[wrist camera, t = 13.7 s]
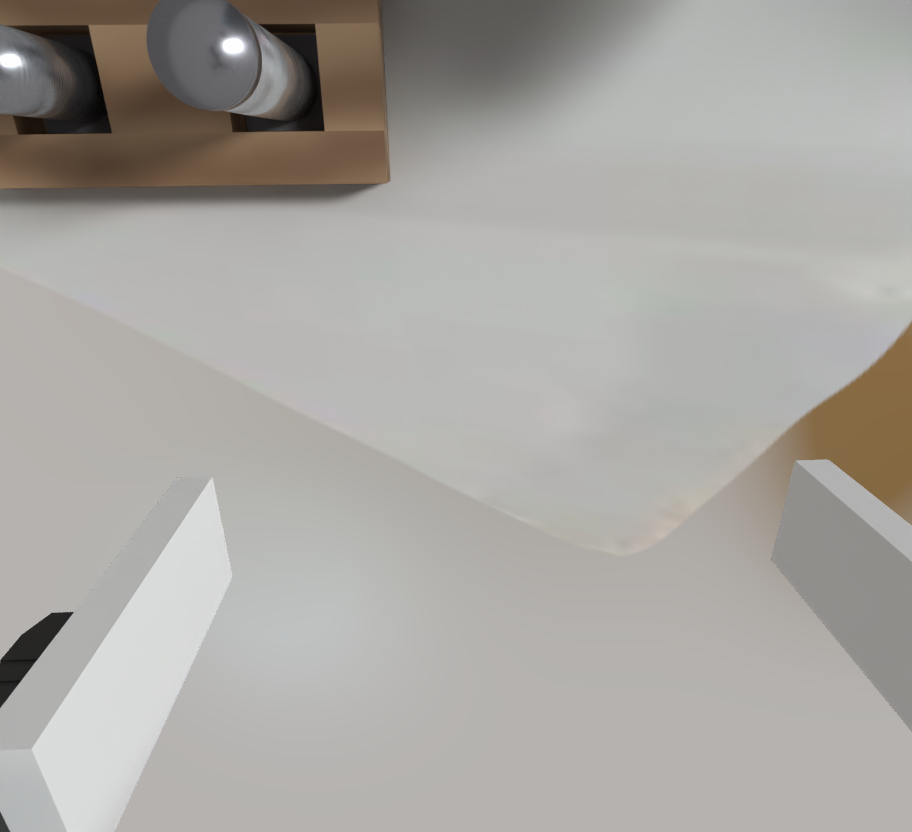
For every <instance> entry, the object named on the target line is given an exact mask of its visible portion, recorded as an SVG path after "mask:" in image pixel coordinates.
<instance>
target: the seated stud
mask: <svg viewBox="0 0 912 832" xmlns="http://www.w3.org/2000/svg"><path fill="white" fill-rule="evenodd" d="M106 113H107V108H106V103H105V99H104V94H103V90H102V85H101V81H100V76H99V71H98V67H97V62H96V58H95V57H94V56H93V55H91V54H90V53H88V52H86V51H84V50H82V49H79V48H75V47H72V46H69V45H66V44H63V43H60V42H56V41H53V40H50V39H47V38H44V37H40V36H37V35H34V34H31V33H28V32H25V31H21V30H18V29H15V28H12V27H9V26H5V25H2V24H0V114H6V115H16V116H25V117H35V118H44V119H53V120H63V121H72V122H82V123H90V122H95V121H97V120H99V119H101V118H102V117H104V116H105V115H106Z"/></svg>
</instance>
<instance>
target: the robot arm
mask: <svg viewBox="0 0 912 832" xmlns="http://www.w3.org/2000/svg"><path fill="white" fill-rule="evenodd" d="M771 560H772V561H773V563H774V564H775V565H776V566H777V568H778V569H779V570H780V571H781V572H782V574H783V575H784V576H785V577H786V578H787V580H788V581H789V582H790V583H791V585H792V586H793V587H794V588H795V590H796V591H797V592H798V593H799V594H800V596H801V597H802V598H803V599H804V600H805V602H806V603H807V604H808V605H809V607H810V608H811V609H812V610H813V612H814V613H815V614H816V615H817V616H818V618H819V619H820V620H821V621H822V622H823V624H824V625H825V626H826V627H827V629H828V630H829V631H830V632H831V634H832V635H833V636H834V637H835V638H836V640H837V641H838V642H839V643H840V644H841V646H842V647H843V648H844V649H845V651H846V652H847V653H848V654H849V655H850V657H851V658H852V659H853V660H854V661H855V663H856V664H857V665H858V666H859V667H860V669H861V670H862V671H863V673H864V674H865V675H866V676H867V677H868V679H869V680H870V681H871V682H872V683H873V685H874V686H875V687H876V688H877V690H878V691H879V692H880V693H881V694H882V696H883V697H884V698H885V699H886V701H887V702H888V703H889V704H890V706H891V707H892V708H893V709H894V710H895V712H896V713H897V714H898V715H899V717H900V718H901V719H902V720H903V721H904V723H905V724H906V725H907V726H908V728H909V729H910V730H911V731H912V526H911V525H910V524H909V523H907V522H906V521H905V520H904V519H902V518H901V517H900V516H899V515H897V514H896V513H895V512H894V511H892V510H891V509H890V508H888V507H887V506H886V505H885V504H884V503H882V502H881V501H880V500H879V499H877V498H876V497H875V496H873V495H872V494H871V493H870V492H868V491H867V490H866V489H865V488H863V487H862V486H861V485H860V484H858V483H857V482H856V481H854V480H853V479H852V478H851V477H849V476H848V475H847V474H846V473H844V472H843V471H842V470H841V469H839V468H838V467H837V466H836V465H834V464H833V463H832V462H831V461H829V460H799V461H795V464H794V468H793V472H792V476H791V480H790V485H789V488H788V492H787V497H786V501H785V504H784V508H783V512H782V516H781V521H780V525H779V529H778V533H777V537H776V541H775V545H774V549H773V553H772V557H771ZM231 578H232V573H231V568H230V563H229V558H228V552H227V548H226V542H225V537H224V533H223V527H222V523H221V518H220V512H219V508H218V502H217V497H216V493H215V488H214V483H213V478H212V477H178V478H177V479H176V480H175V481H174V482H173V484H172V485H171V486H170V488H169V489H168V490H167V492H166V493H165V494H164V495H163V497H162V498H161V499H160V501H159V502H158V503H157V505H156V506H155V507H154V508H153V510H152V511H151V512H150V514H149V515H148V516H147V518H146V519H145V520H144V522H143V523H142V524H141V525H140V527H139V528H138V529H137V531H136V532H135V533H134V535H133V536H132V537H131V539H130V540H129V541H128V542H127V544H126V545H125V546H124V548H123V549H122V550H121V552H120V553H119V554H118V555H117V557H116V558H115V559H114V561H113V562H112V563H111V565H110V566H109V567H108V569H107V570H106V571H105V572H104V574H103V575H102V576H101V578H100V579H99V580H98V582H97V583H96V584H95V585H94V587H93V588H92V589H91V591H90V592H89V593H88V595H87V596H86V597H85V598H84V600H83V601H82V602H81V604H80V605H79V606H78V608H77V609H76V610H75V611H74V612H63V613H51V614H50V615H48V616H47V617H45V618H44V619H43V620H42V621H40V622H39V623H37V624H36V625H35V626H33V627H32V628H30V629H29V630H28V631H26V632H25V633H24V634H22V635H21V636H20V637H19V639H18V640H17V641H16V642H15V643H14V645H13V646H12V647H11V648H10V649H9V651H8V652H7V653H6V654H5V656H4V657H3V658H2V659H1V660H0V832H115V829H116V827H117V825H118V823H119V821H120V819H121V816H122V814H123V812H124V810H125V808H126V806H127V803H128V801H129V799H130V797H131V795H132V793H133V791H134V788H135V786H136V784H137V782H138V780H139V777H140V775H141V773H142V771H143V769H144V767H145V765H146V762H147V760H148V758H149V756H150V754H151V752H152V749H153V747H154V745H155V743H156V741H157V738H158V736H159V734H160V732H161V730H162V728H163V726H164V723H165V721H166V719H167V717H168V715H169V713H170V711H171V708H172V706H173V704H174V701H175V700H176V697H177V695H178V693H179V691H180V689H181V687H182V685H183V682H184V680H185V678H186V676H187V674H188V672H189V669H190V667H191V665H192V663H193V660H194V658H195V657H196V654H197V652H198V650H199V648H200V646H201V643H202V641H203V639H204V637H205V635H206V633H207V631H208V628H209V626H210V624H211V622H212V620H213V618H214V615H215V613H216V611H217V609H218V607H219V605H220V602H221V600H222V598H223V596H224V594H225V592H226V590H227V587H228V585H229V583H230V581H231Z"/></svg>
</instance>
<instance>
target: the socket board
mask: <svg viewBox="0 0 912 832" xmlns="http://www.w3.org/2000/svg"><path fill="white" fill-rule="evenodd" d="M159 1H160V0H0V24H2V25H5V26H9V27H12V28H15V29H18V30H21V31H25V32H28V33H31V34H34V35H37V36H40V37H44V38H47V39H50V40H53V41H56V42H60V43H63V44H66V45H69V46H72V47H75V48H79V49H82V50H84V51H86V52H88V53H90V54H91V55H93V56H94V57H95V58H96V62H97V67H98V71H99V76H100V81H101V85H102V90H103V94H104V99H105V103H106V108H107V113H106V115H105V116H104V117H102V118H101V119H99V120H97V121H95V122H90V123H82V122H72V121H63V120H53V119H44V118H35V117H25V116H16V115H6V114H0V189H10V188H83V187H155V186H227V185H300V184H372V183H388V182H389V181H390V166H389V147H388V127H387V108H386V88H385V69H384V50H383V30H382V11H381V0H227V1H228V2H230V3H231V4H232V5H234V6H235V7H236V8H237V9H239V10H240V11H241V12H242V13H243V14H244V15H246V16H247V17H248V18H250V19H251V20H253V21H254V22H256V23H257V24H258V25H260V26H261V27H263V28H264V29H266V30H267V31H269V32H270V33H271V34H273V35H274V36H276V37H277V38H279V39H280V40H281V41H283V42H284V43H286V44H287V45H289V46H290V47H291V48H293V49H294V50H296V51H297V52H299V53H300V54H301V55H303V56H304V57H305V58H306V60H307V61H308V62H309V63H310V65H311V67H312V68H313V71H314V73H315V76H316V80H317V96H316V100H315V103H314V105H313V107H312V108H311V110H310V111H309V112H308V113H307V114H306V115H305V116H304V117H302V118H300V119H298V120H294V121H280V120H274V119H268V118H262V117H256V116H250V115H244V114H238V113H232V112H226V111H211V110H205V109H199V108H195V107H192V106H190V105H188V104H186V103H184V102H182V101H180V100H179V99H177V98H176V97H175V96H174V95H172V94H171V93H170V92H169V91H168V90H167V89H166V88H165V86H164V85H163V84H162V83H161V81H160V80H159V78H158V77H157V75H156V73H155V71H154V69H153V67H152V64H151V62H150V59H149V55H148V51H147V43H146V34H147V26H148V22H149V18H150V16H151V13H152V11H153V10H154V8H155V6H156V5H157V4H158V2H159Z"/></svg>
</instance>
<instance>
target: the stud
mask: <svg viewBox="0 0 912 832" xmlns="http://www.w3.org/2000/svg"><path fill="white" fill-rule="evenodd" d="M146 43H147V51H148V55H149V59H150V62H151V64H152V67H153V69H154V71H155V73H156V75H157V77H158V78H159V80H160V81H161V83H162V84H163V85H164V86H165V88H166V89H167V90H168V91H169V92H170V93H171V94H172V95H174V96H175V97H176V98H177V99H179V100H180V101H182V102H184V103H186V104H188V105H190V106H192V107H195V108H199V109H205V110H211V111H226V112H232V113H238V114H244V115H250V116H256V117H262V118H268V119H274V120H280V121H294V120H298V119H300V118H302V117H304V116H305V115H306V114H307V113H308V112H309V111H310V110H311V108H312V107H313V105H314V103H315V100H316V96H317V80H316V76H315V73H314V71H313V68H312V67H311V65H310V63H309V62H308V61H307V60H306V58H305V57H304V56H303V55H301V54H300V53H299V52H297V51H296V50H294V49H293V48H291V47H290V46H289V45H287V44H286V43H284V42H283V41H281V40H280V39H279V38H277V37H276V36H274V35H273V34H271V33H270V32H269V31H267V30H266V29H264V28H263V27H261V26H260V25H258V24H257V23H256V22H254V21H253V20H251V19H250V18H248V17H247V16H246V15H244V14H243V13H242V12H241V11H240V10H239V9H237V8H236V7H235V6H234V5H232V4H231V3H230V2H228V1H227V0H160V1H159V2H158V4H157V5H156V6H155V8H154V10H153V11H152V13H151V16H150V18H149V22H148V26H147V34H146Z"/></svg>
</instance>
